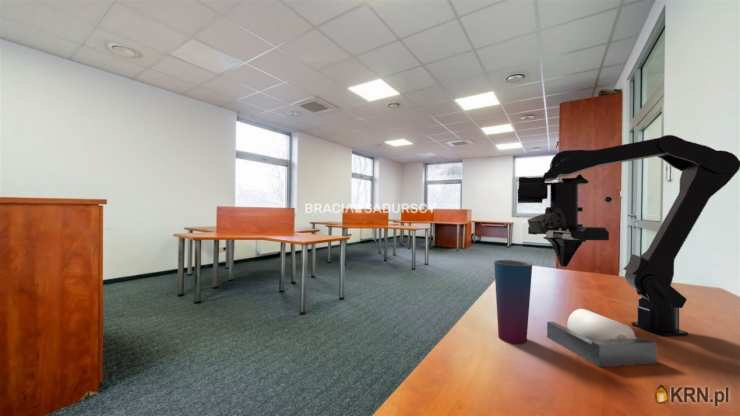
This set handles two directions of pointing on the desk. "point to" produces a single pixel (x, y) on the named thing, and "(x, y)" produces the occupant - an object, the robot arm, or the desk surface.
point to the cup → (512, 299)
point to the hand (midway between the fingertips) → (563, 266)
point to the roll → (598, 326)
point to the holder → (605, 348)
